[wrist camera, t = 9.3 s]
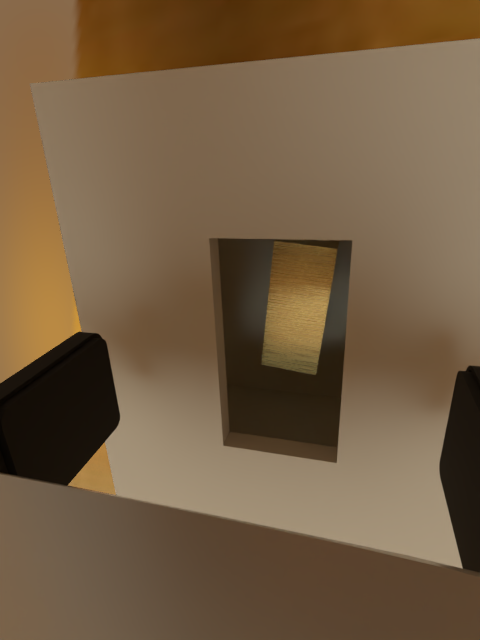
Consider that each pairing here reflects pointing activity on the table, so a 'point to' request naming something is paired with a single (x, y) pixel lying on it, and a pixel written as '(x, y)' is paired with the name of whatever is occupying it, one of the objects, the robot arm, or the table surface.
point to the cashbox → (254, 279)
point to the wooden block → (298, 303)
